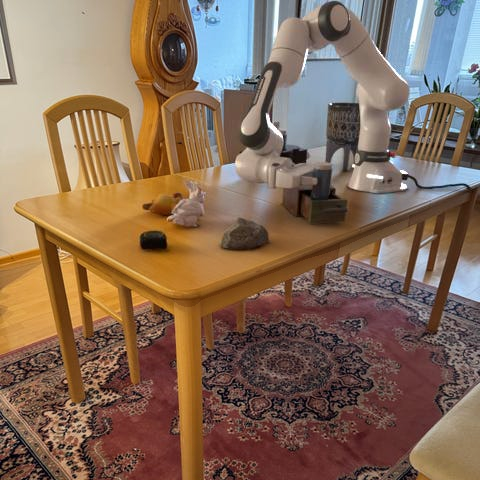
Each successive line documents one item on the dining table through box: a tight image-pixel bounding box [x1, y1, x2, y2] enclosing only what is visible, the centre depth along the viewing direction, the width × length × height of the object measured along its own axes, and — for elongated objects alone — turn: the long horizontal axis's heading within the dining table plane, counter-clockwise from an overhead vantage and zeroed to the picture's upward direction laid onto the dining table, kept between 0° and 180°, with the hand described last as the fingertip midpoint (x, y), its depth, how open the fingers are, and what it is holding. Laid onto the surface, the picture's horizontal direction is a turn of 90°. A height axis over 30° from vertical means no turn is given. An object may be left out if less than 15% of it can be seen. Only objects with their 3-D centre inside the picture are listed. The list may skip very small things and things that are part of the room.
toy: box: [141, 192, 183, 216], centre depth 144 cm, size 11×6×15 cm
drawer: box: [299, 191, 349, 225], centre depth 138 cm, size 18×11×7 cm, turn 14°
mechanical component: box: [238, 121, 311, 165], centre depth 191 cm, size 22×21×30 cm
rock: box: [220, 217, 270, 251], centre depth 120 cm, size 13×9×6 cm, turn 131°
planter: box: [324, 102, 360, 172], centre depth 204 cm, size 20×20×26 cm
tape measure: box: [139, 229, 168, 251], centre depth 117 cm, size 7×7×4 cm
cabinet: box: [282, 184, 337, 218], centre depth 149 cm, size 14×12×8 cm
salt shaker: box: [310, 161, 334, 200], centre depth 136 cm, size 6×6×15 cm
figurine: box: [166, 178, 207, 227], centre depth 132 cm, size 8×15×13 cm, turn 145°
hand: (323, 178), depth 135 cm, fingers open, 8 cm apart
